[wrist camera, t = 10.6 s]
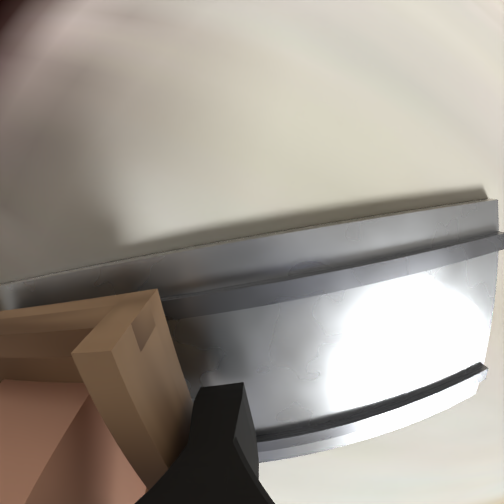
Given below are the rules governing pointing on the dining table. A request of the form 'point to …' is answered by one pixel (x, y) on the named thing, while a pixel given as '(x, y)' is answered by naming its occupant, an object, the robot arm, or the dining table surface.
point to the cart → (109, 369)
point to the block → (59, 448)
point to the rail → (320, 318)
